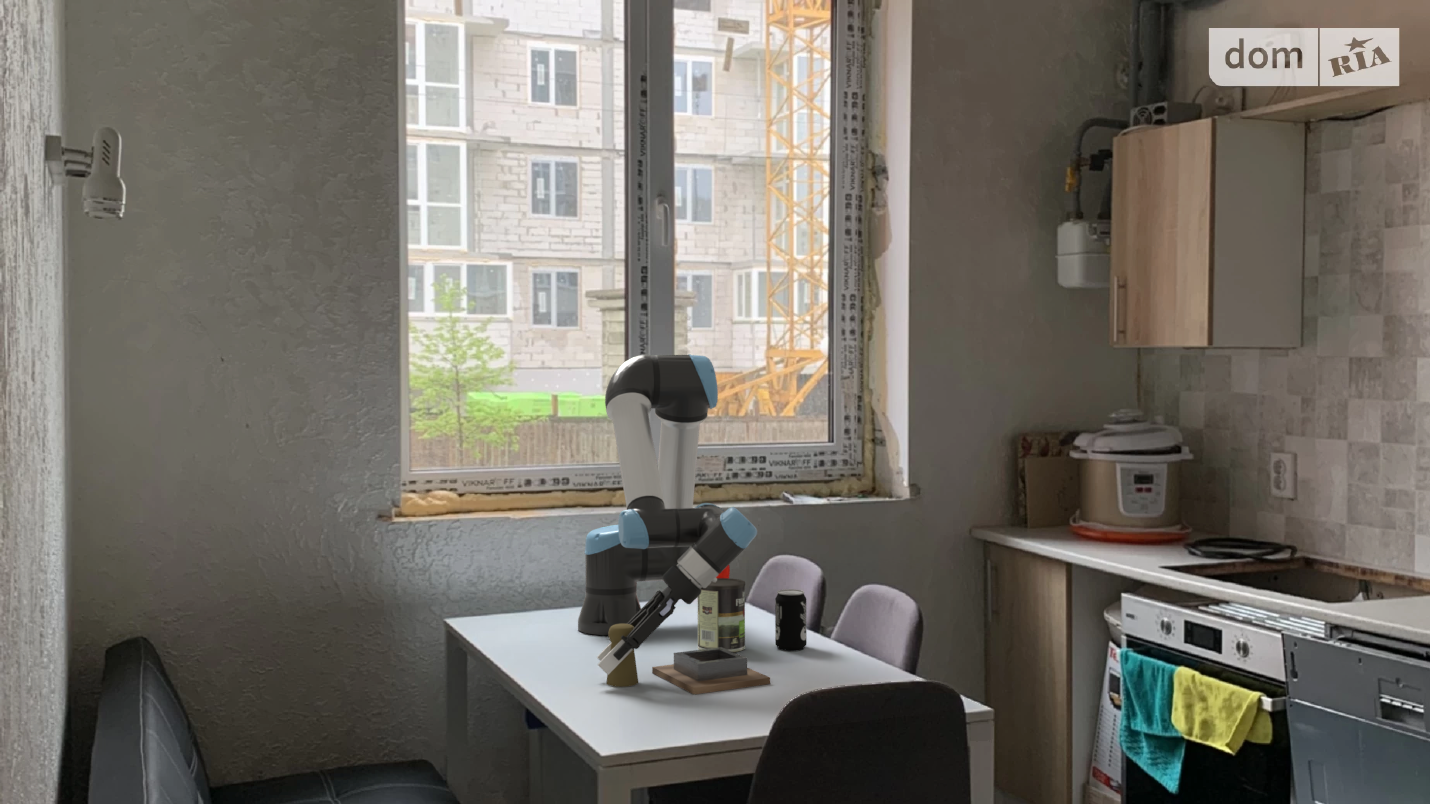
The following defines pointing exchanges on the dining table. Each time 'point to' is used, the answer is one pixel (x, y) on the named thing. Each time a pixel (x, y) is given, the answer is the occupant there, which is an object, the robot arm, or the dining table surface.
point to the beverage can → (790, 620)
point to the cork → (627, 667)
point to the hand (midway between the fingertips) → (602, 665)
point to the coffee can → (722, 615)
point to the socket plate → (710, 671)
